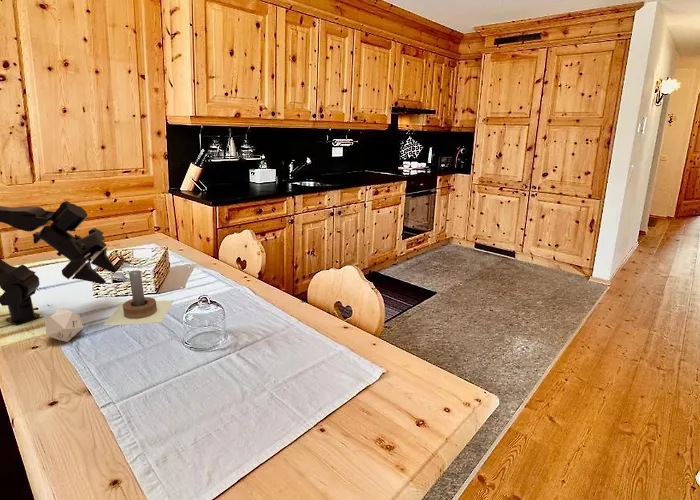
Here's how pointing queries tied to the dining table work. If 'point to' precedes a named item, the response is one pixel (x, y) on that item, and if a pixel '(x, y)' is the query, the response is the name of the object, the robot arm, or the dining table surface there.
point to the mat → (157, 317)
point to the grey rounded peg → (137, 288)
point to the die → (63, 325)
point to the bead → (139, 309)
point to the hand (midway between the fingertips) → (110, 277)
